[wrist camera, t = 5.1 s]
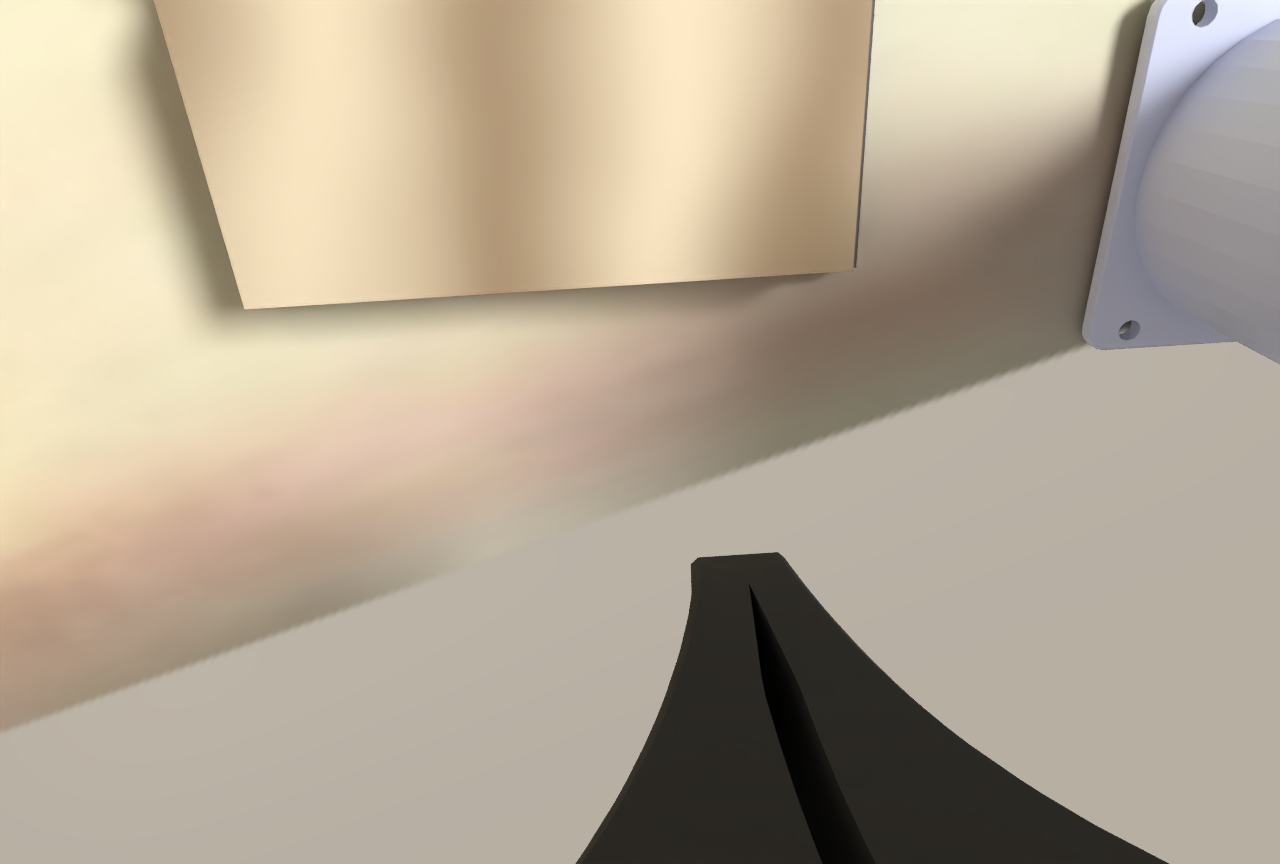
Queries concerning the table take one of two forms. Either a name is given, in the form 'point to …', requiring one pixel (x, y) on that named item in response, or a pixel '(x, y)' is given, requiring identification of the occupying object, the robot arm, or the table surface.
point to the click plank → (522, 141)
